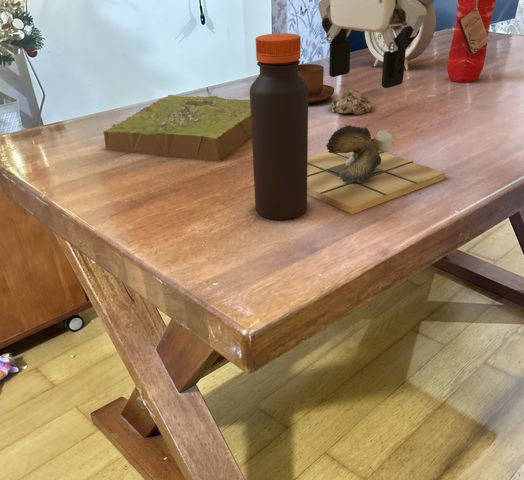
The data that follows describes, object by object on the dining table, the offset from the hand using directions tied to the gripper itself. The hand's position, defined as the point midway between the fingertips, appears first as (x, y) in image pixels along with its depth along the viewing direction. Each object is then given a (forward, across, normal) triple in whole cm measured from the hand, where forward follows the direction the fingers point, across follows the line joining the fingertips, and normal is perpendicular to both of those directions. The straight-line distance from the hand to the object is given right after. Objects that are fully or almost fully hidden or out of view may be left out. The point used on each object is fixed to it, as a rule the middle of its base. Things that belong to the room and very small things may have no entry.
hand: (364, 80), depth 71 cm
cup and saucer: (+13, +40, -22) cm, 47 cm away
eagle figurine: (+12, 0, +1) cm, 12 cm away
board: (+13, 0, +1) cm, 13 cm away
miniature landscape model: (+13, +36, +8) cm, 38 cm away
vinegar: (+13, -2, +16) cm, 20 cm away
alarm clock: (+14, +48, -59) cm, 78 cm away
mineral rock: (+13, +28, -24) cm, 39 cm away
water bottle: (+14, +26, -57) cm, 65 cm away
